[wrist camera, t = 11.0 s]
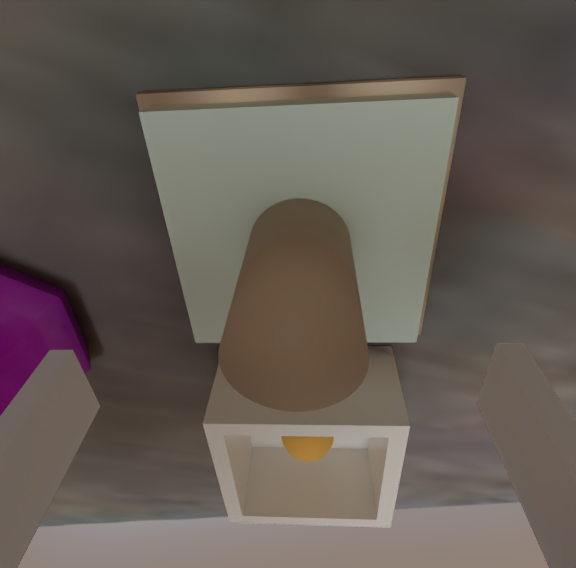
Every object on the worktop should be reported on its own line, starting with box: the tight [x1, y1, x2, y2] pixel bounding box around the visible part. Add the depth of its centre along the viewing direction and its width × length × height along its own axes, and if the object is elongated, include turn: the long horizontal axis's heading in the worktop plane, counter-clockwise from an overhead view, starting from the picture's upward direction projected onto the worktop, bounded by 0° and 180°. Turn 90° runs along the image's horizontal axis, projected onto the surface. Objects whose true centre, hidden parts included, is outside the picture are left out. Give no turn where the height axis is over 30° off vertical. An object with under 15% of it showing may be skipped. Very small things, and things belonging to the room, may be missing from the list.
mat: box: [135, 76, 466, 335], centre depth 21 cm, size 14×14×1 cm
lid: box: [139, 92, 459, 412], centre depth 17 cm, size 13×13×9 cm
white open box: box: [203, 346, 410, 528], centre depth 27 cm, size 11×11×6 cm
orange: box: [281, 436, 334, 462], centre depth 27 cm, size 4×4×4 cm
